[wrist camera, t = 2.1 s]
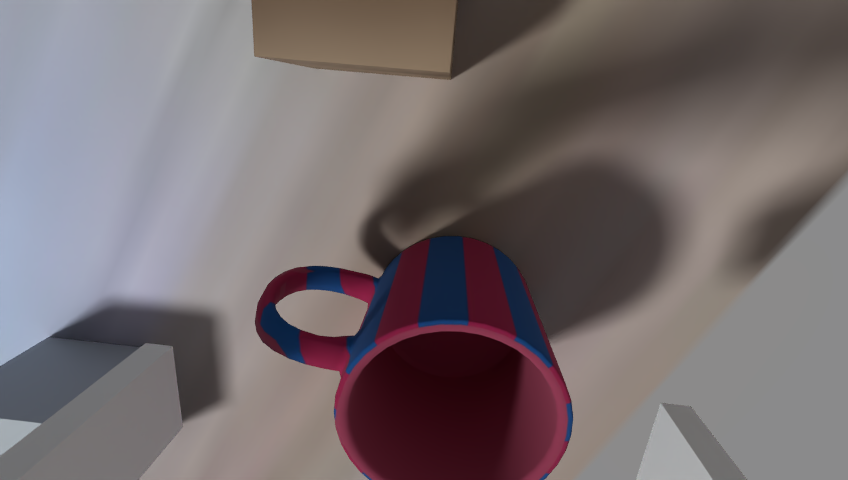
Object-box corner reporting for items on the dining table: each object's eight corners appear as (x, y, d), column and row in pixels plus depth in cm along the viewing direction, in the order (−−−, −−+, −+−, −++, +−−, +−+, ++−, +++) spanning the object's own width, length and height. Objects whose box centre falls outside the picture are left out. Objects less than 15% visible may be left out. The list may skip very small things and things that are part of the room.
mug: (475, 395, 20) (486, 542, 13) (283, 293, 18) (193, 399, 12) (561, 285, 17) (625, 396, 11) (351, 162, 16) (285, 206, 10)
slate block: (50, 335, 20) (-73, 409, 15) (151, 347, 20) (58, 425, 15) (71, 418, 22) (-35, 508, 17) (164, 429, 22) (84, 522, 17)
